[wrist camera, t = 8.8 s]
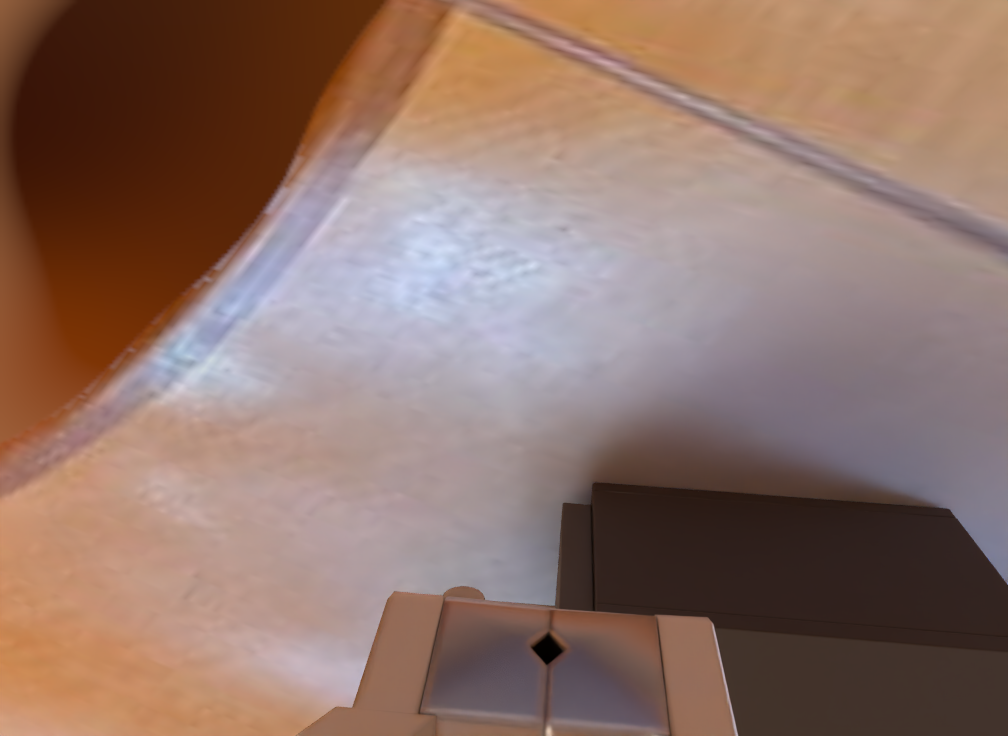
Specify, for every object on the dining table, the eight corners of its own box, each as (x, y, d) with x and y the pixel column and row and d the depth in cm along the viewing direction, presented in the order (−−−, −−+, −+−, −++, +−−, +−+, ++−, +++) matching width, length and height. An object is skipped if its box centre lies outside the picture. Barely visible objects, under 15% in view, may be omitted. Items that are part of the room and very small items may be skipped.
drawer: (452, 698, 42) (426, 838, 35) (459, 494, 39) (430, 602, 31) (852, 733, 41) (910, 885, 34) (896, 527, 38) (972, 647, 30)
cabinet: (573, 706, 43) (571, 885, 34) (592, 481, 39) (596, 617, 30) (895, 734, 42) (981, 926, 33) (949, 508, 38) (1063, 656, 29)
